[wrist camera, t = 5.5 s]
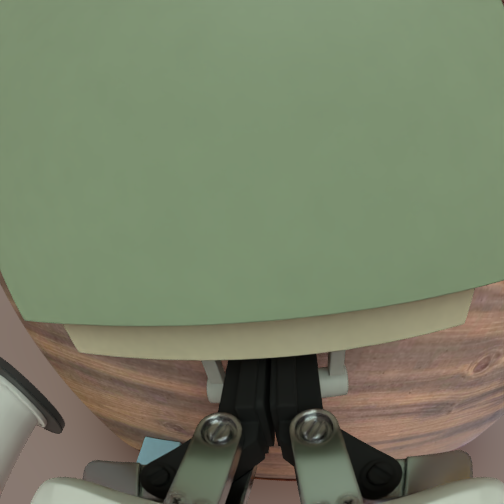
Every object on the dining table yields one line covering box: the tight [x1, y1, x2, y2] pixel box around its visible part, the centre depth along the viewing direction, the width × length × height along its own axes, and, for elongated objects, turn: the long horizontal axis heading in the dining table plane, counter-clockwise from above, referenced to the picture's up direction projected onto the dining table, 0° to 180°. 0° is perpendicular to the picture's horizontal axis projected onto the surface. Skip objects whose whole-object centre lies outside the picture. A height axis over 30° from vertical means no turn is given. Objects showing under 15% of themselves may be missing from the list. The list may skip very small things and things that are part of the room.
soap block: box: [136, 437, 182, 465], centre depth 23 cm, size 4×4×4 cm
